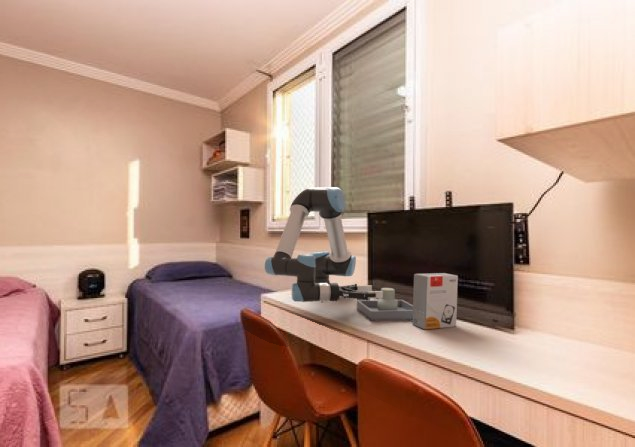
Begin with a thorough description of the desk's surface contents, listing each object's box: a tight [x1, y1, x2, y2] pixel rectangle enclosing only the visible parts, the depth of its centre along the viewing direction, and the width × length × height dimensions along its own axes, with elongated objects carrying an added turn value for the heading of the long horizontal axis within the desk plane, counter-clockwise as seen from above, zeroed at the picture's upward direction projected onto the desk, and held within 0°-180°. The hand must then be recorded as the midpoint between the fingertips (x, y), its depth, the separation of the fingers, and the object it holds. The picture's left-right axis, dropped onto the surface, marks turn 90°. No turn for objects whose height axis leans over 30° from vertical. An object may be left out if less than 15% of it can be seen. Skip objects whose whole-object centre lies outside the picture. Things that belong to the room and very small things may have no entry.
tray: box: [356, 299, 413, 322], centre depth 148 cm, size 20×22×4 cm
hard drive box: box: [411, 272, 459, 330], centre depth 132 cm, size 16×8×20 cm, turn 112°
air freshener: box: [377, 287, 399, 311], centre depth 148 cm, size 11×8×10 cm
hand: (376, 291), depth 147 cm, fingers open, 13 cm apart
